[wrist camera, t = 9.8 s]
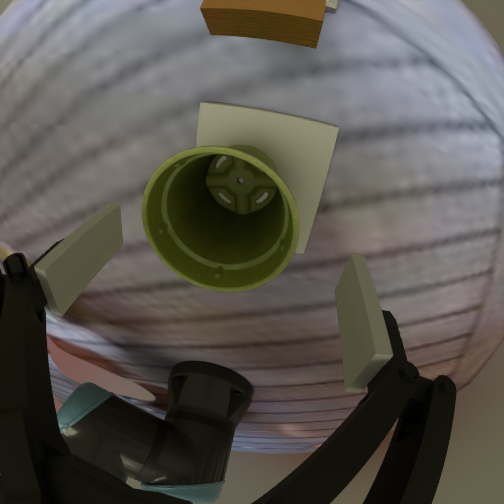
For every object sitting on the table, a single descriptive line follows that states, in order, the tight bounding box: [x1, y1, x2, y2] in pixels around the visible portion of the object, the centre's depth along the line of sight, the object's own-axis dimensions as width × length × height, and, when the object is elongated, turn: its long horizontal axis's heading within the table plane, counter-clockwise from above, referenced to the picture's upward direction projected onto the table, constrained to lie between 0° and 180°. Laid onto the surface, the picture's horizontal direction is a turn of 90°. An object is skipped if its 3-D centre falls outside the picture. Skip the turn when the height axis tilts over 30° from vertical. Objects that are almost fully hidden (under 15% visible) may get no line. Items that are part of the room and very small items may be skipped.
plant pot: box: [142, 145, 300, 292], centre depth 19 cm, size 9×9×9 cm
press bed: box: [196, 102, 339, 255], centre depth 23 cm, size 12×11×2 cm
